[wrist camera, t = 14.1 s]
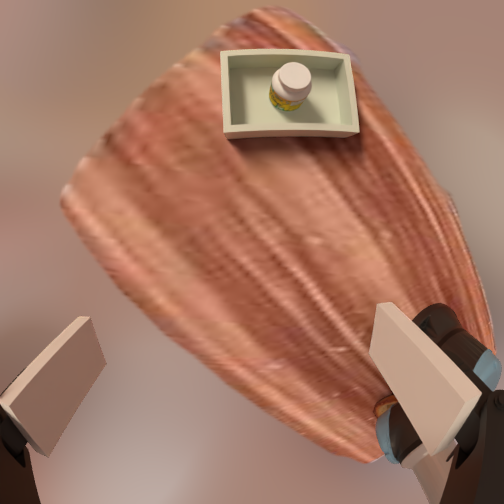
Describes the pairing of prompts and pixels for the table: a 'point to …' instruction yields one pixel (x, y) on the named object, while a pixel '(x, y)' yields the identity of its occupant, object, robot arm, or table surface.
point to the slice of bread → (384, 405)
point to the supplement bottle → (290, 87)
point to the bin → (278, 122)
